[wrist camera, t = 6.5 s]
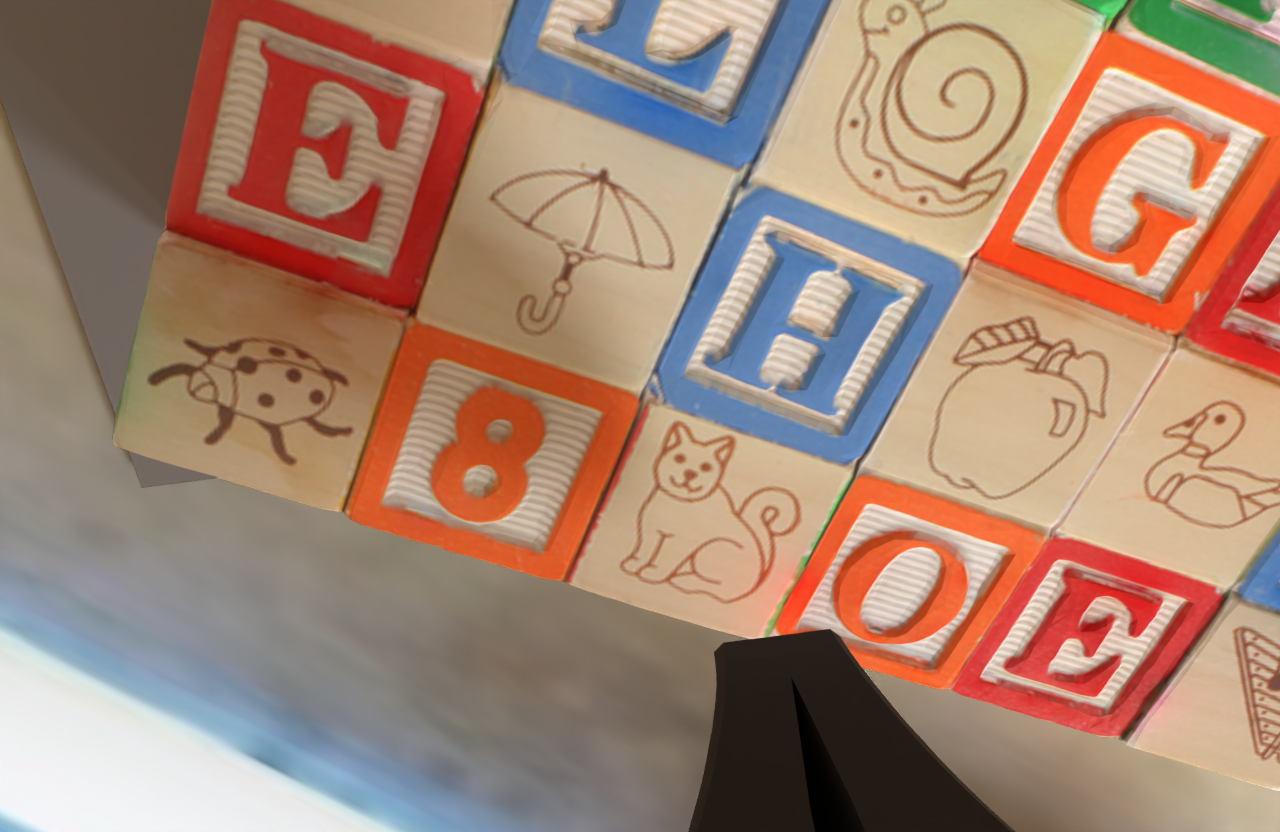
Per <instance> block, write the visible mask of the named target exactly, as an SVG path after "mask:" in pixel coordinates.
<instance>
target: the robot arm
mask: <svg viewBox="0 0 1280 832" xmlns="http://www.w3.org/2000/svg"><path fill="white" fill-rule="evenodd" d="M714 655H715V664H716V673H717V688H716V703H715V711H714V720H713V728H712V734H711V739H710V744H709V749H708V755H707V760H706V765H705V770H704V775H703V780H702V784H701V788H700V792H699V796H698V799H697V803H696V806H695V810H694V814H693V817H692V821H691V825H690V828H689V832H1015V831H1014V830H1013V829H1011V828H1010V827H1009V826H1008V825H1007V824H1006V823H1005V822H1004V821H1003V820H1001V819H1000V818H999V817H998V816H997V815H996V814H995V813H994V812H993V811H992V810H991V809H989V808H988V807H987V806H986V805H985V804H984V803H983V802H982V801H981V800H980V799H979V798H978V797H977V796H976V795H975V794H974V793H973V792H972V791H971V790H970V789H969V788H968V787H967V786H966V785H965V784H964V783H963V782H962V781H961V780H960V779H959V778H958V777H957V776H956V775H955V774H954V773H953V772H952V771H951V770H950V769H949V768H948V767H947V766H946V765H945V764H944V763H943V762H942V761H941V760H940V759H939V758H938V757H937V756H936V755H935V753H934V752H933V751H932V750H931V749H930V748H929V747H928V746H927V745H926V744H925V742H924V741H923V740H922V739H921V738H920V737H919V736H918V735H917V734H916V733H915V731H914V730H913V729H912V728H911V727H910V726H909V725H908V724H907V723H906V721H905V720H904V719H903V718H902V717H901V716H900V714H899V713H898V712H897V711H896V710H895V709H894V707H893V706H892V705H891V704H890V703H889V701H888V700H887V699H886V698H885V696H884V695H883V694H882V693H881V691H880V690H879V689H878V688H877V687H876V685H875V684H874V683H873V682H872V680H871V679H870V678H869V676H868V675H867V674H866V672H865V671H864V670H863V668H862V667H861V666H860V664H859V663H858V662H857V660H856V659H855V658H854V656H853V655H852V653H851V652H850V650H849V649H848V648H847V646H846V645H845V643H844V642H843V640H842V638H841V637H840V636H839V635H838V634H836V633H835V632H834V631H832V630H831V629H824V630H817V631H809V632H802V633H794V634H787V635H779V636H771V637H764V638H756V639H749V640H741V641H734V642H726V643H723V644H722V645H721V646H720V647H719V648H718V649H717V650H716V651H715V652H714Z"/></svg>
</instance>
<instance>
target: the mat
mask: <svg viewBox="0 0 1280 832" xmlns="http://www.w3.org/2000/svg"><path fill="white" fill-rule="evenodd" d="M211 1H212V0H0V99H1V102H2V105H3V107H4V110H5V113H6V116H7V118H8V121H9V124H10V127H11V129H12V132H13V135H14V138H15V140H16V143H17V146H18V149H19V152H20V154H21V157H22V160H23V163H24V165H25V168H26V171H27V174H28V176H29V179H30V182H31V185H32V187H33V190H34V193H35V196H36V198H37V201H38V204H39V207H40V209H41V212H42V215H43V218H44V220H45V223H46V226H47V229H48V231H49V234H50V237H51V240H52V242H53V245H54V248H55V251H56V253H57V256H58V259H59V262H60V264H61V267H62V270H63V273H64V275H65V278H66V281H67V284H68V286H69V289H70V292H71V295H72V297H73V300H74V303H75V306H76V308H77V311H78V314H79V317H80V319H81V322H82V325H83V328H84V330H85V333H86V336H87V339H88V341H89V344H90V347H91V350H92V352H93V355H94V358H95V361H96V364H97V366H98V369H99V372H100V375H101V377H102V380H103V383H104V386H105V388H106V391H107V394H108V397H109V399H110V402H111V405H112V408H113V410H114V413H115V416H116V413H117V408H118V403H119V399H120V395H121V390H122V386H123V381H124V377H125V373H126V369H127V365H128V359H129V354H130V350H131V346H132V342H133V339H134V335H135V331H136V327H137V323H138V319H139V315H140V311H141V307H142V303H143V299H144V295H145V291H146V287H147V283H148V278H149V274H150V269H151V265H152V260H153V256H154V253H155V250H156V246H157V243H158V240H159V238H160V236H161V234H162V232H163V230H164V228H165V227H166V222H165V214H166V209H167V205H168V200H169V195H170V191H171V186H172V181H173V176H174V172H175V167H176V162H177V158H178V153H179V148H180V143H181V139H182V134H183V129H184V125H185V120H186V116H187V111H188V106H189V102H190V97H191V92H192V88H193V83H194V79H195V74H196V69H197V65H198V60H199V55H200V51H201V47H202V42H203V38H204V33H205V29H206V24H207V20H208V15H209V11H210V6H211ZM128 452H129V454H130V457H131V460H132V463H133V465H134V468H135V471H136V474H137V476H138V479H139V482H140V485H141V487H142V488H144V487H152V486H160V485H167V484H175V483H182V482H190V481H198V480H205V479H213V478H218V477H215V476H212V475H208V474H205V473H201V472H197V471H193V470H190V469H186V468H182V467H179V466H176V465H172V464H169V463H165V462H162V461H159V460H155V459H152V458H148V457H145V456H142V455H139V454H136V453H133V452H130V451H128Z"/></svg>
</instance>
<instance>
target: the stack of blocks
mask: <svg viewBox="0 0 1280 832" xmlns="http://www.w3.org/2000/svg"><path fill="white" fill-rule="evenodd" d="M165 222H166V227H165V228H164V230H163V232H162V234H161V236H160V238H159V240H158V243H157V246H156V250H155V253H154V256H153V260H152V265H151V269H150V274H149V278H148V283H147V287H146V291H145V295H144V299H143V303H142V307H141V311H140V315H139V319H138V323H137V327H136V331H135V335H134V339H133V342H132V346H131V350H130V354H129V359H128V365H127V369H126V373H125V377H124V381H123V386H122V390H121V395H120V399H119V403H118V408H117V413H116V419H115V425H114V431H113V437H112V438H113V443H114V446H116V447H119V448H122V449H125V450H128V451H130V452H133V453H136V454H139V455H142V456H145V457H148V458H152V459H155V460H159V461H162V462H165V463H169V464H172V465H176V466H179V467H182V468H186V469H190V470H193V471H197V472H201V473H205V474H208V475H212V476H215V477H218V478H221V479H223V480H226V481H229V482H231V483H235V484H239V485H243V486H247V487H250V488H253V489H256V490H259V491H262V492H266V493H269V494H273V495H276V496H279V497H283V498H286V499H289V500H292V501H295V502H299V503H302V504H306V505H309V506H313V507H317V508H320V509H324V510H330V511H338V512H344V513H345V514H346V515H347V516H348V517H349V518H350V519H351V520H353V521H355V522H357V523H359V524H361V525H364V526H368V527H371V528H375V529H378V530H382V531H385V532H388V533H392V534H395V535H398V536H401V537H404V538H408V539H411V540H414V541H418V542H422V543H426V544H431V545H435V546H438V547H440V548H443V549H445V550H448V551H451V552H455V553H459V554H462V555H466V556H469V557H473V558H477V559H480V560H484V561H487V562H490V563H494V564H497V565H500V566H504V567H507V568H510V569H513V570H517V571H520V572H523V573H527V574H530V575H533V576H536V577H540V578H546V579H553V580H560V581H564V582H566V583H568V584H570V585H573V586H575V587H578V588H581V589H583V590H586V591H589V592H592V593H595V594H598V595H600V596H604V597H607V598H611V599H615V600H618V601H622V602H625V603H628V604H630V605H633V606H636V607H640V608H643V609H646V610H650V611H653V612H657V613H660V614H663V615H667V616H670V617H674V618H677V619H680V620H684V621H687V622H691V623H694V624H697V625H701V626H704V627H707V628H711V629H714V630H717V631H721V632H725V633H729V634H733V635H737V636H741V637H745V638H749V639H756V638H764V637H771V636H779V635H787V634H794V633H802V632H809V631H817V630H824V629H831V630H832V631H834V632H835V633H836V634H838V635H839V636H840V637H841V638H842V640H843V642H844V643H845V645H846V646H847V648H848V649H849V650H850V652H851V653H852V655H853V656H854V658H855V659H856V660H857V662H858V663H859V664H860V666H861V667H863V668H866V669H870V670H873V671H877V672H881V673H885V674H889V675H892V676H896V677H899V678H902V679H904V680H907V681H910V682H914V683H918V684H921V685H925V686H928V687H931V688H935V689H950V690H952V691H954V692H956V693H958V694H960V695H963V696H967V697H970V698H973V699H976V700H980V701H983V702H986V703H990V704H993V705H996V706H1000V707H1003V708H1006V709H1010V710H1013V711H1016V712H1019V713H1023V714H1026V715H1029V716H1033V717H1036V718H1039V719H1043V720H1046V721H1050V722H1053V723H1057V724H1060V725H1064V726H1067V727H1071V728H1074V729H1078V730H1081V731H1085V732H1088V733H1091V734H1094V735H1097V736H1100V737H1115V738H1118V739H1119V740H1120V741H1122V742H1123V743H1124V744H1125V745H1126V746H1129V747H1133V748H1136V749H1139V750H1143V751H1146V752H1150V753H1153V754H1156V755H1160V756H1163V757H1167V758H1170V759H1173V760H1177V761H1180V762H1184V763H1187V764H1190V765H1194V766H1197V767H1200V768H1204V769H1207V770H1210V771H1213V772H1216V773H1220V774H1223V775H1226V776H1229V777H1233V778H1236V779H1239V780H1242V781H1245V782H1249V783H1252V784H1255V785H1259V786H1262V787H1265V788H1269V789H1272V790H1276V791H1280V0H212V1H211V6H210V11H209V15H208V20H207V24H206V29H205V33H204V38H203V42H202V47H201V51H200V55H199V60H198V65H197V69H196V74H195V79H194V83H193V88H192V92H191V97H190V102H189V106H188V111H187V116H186V120H185V125H184V129H183V134H182V139H181V143H180V148H179V153H178V158H177V162H176V167H175V172H174V176H173V181H172V186H171V191H170V195H169V200H168V205H167V209H166V214H165Z"/></svg>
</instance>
